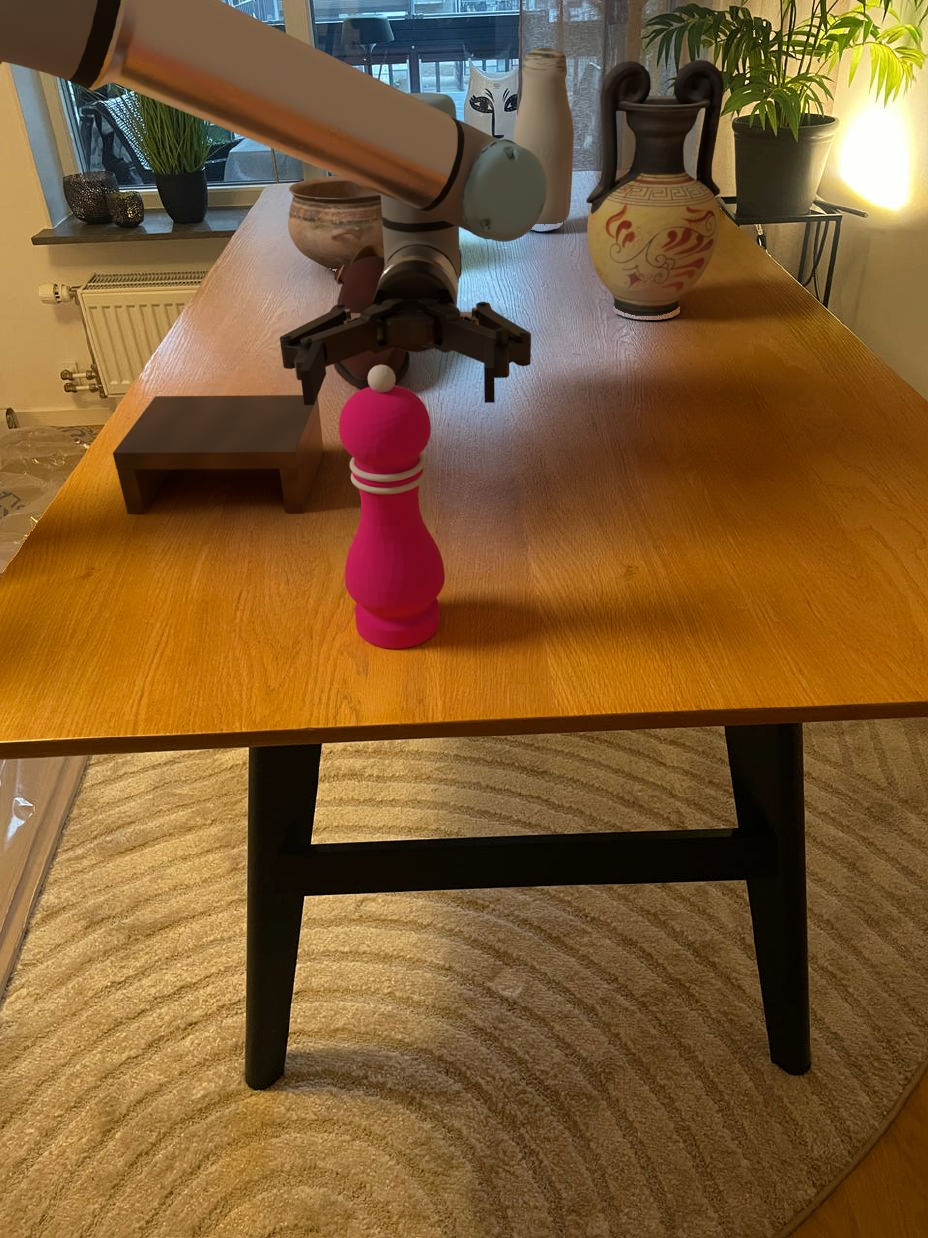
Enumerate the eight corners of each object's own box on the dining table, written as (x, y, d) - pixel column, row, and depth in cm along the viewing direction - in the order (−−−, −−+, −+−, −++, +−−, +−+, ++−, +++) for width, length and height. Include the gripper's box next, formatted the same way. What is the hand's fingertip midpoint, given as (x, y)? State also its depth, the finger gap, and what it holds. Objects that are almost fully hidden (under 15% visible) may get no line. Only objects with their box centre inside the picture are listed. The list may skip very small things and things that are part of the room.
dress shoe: (331, 401, 109) (320, 296, 102) (336, 322, 132) (328, 232, 125) (413, 397, 109) (407, 292, 103) (404, 319, 132) (399, 229, 125)
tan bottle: (573, 224, 175) (580, 44, 159) (564, 238, 167) (572, 50, 151) (519, 222, 177) (521, 45, 161) (508, 236, 169) (509, 50, 153)
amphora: (675, 288, 142) (699, 51, 125) (733, 322, 129) (770, 62, 111) (562, 300, 138) (572, 57, 121) (611, 337, 125) (629, 70, 107)
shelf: (127, 513, 88) (112, 452, 84) (167, 452, 98) (155, 395, 95) (303, 513, 87) (295, 451, 84) (323, 451, 98) (317, 394, 94)
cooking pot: (414, 289, 144) (410, 201, 137) (286, 294, 143) (275, 205, 136) (411, 247, 164) (408, 168, 157) (299, 250, 163) (291, 172, 156)
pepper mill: (352, 658, 69) (325, 390, 58) (346, 603, 75) (320, 350, 64) (453, 648, 70) (445, 382, 59) (439, 594, 76) (430, 342, 64)
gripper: (550, 338, 91) (564, 431, 74) (287, 342, 92) (239, 435, 75) (553, 255, 87) (568, 334, 69) (276, 260, 88) (223, 339, 70)
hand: (397, 386), depth 72 cm, fingers open, 13 cm apart
